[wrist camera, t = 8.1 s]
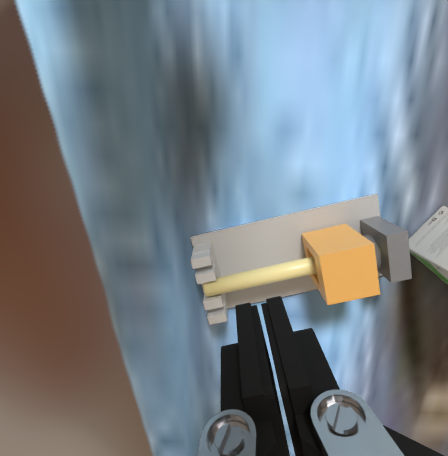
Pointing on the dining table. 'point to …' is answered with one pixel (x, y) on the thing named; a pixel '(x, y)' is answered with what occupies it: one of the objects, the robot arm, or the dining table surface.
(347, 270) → the sleeve
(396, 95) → the dining table surface
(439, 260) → the skincare box
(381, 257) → the rail
